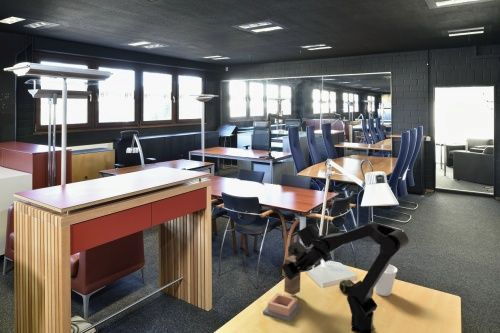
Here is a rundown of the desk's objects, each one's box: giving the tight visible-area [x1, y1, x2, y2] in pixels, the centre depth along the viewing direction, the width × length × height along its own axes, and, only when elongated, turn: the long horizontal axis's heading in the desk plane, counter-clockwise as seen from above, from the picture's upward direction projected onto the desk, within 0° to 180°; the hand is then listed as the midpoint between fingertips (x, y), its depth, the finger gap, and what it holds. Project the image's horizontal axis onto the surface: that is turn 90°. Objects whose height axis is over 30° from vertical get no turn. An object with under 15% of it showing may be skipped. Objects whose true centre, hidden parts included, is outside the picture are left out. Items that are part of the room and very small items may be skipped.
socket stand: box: [262, 292, 302, 323], centre depth 141 cm, size 11×11×4 cm
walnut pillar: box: [283, 255, 302, 296], centre depth 151 cm, size 4×4×14 cm
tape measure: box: [338, 279, 355, 294], centre depth 157 cm, size 7×7×4 cm
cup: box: [374, 264, 398, 297], centre depth 155 cm, size 10×10×11 cm
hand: (289, 274), depth 152 cm, fingers closed on walnut pillar, 4 cm apart
